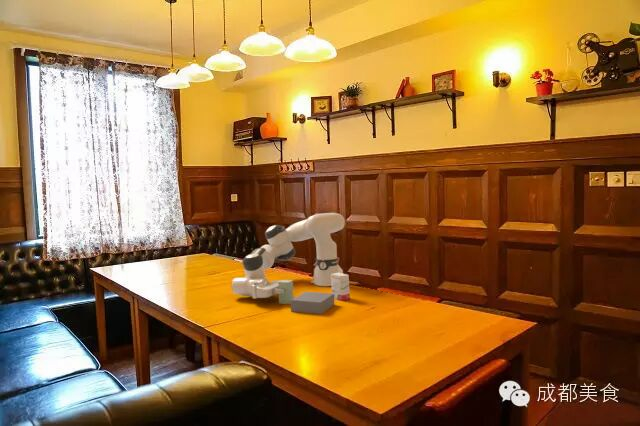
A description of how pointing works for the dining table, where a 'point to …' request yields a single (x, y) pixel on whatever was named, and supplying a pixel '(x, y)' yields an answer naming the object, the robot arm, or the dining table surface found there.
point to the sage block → (286, 291)
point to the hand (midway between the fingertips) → (287, 289)
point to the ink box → (340, 286)
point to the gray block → (312, 302)
